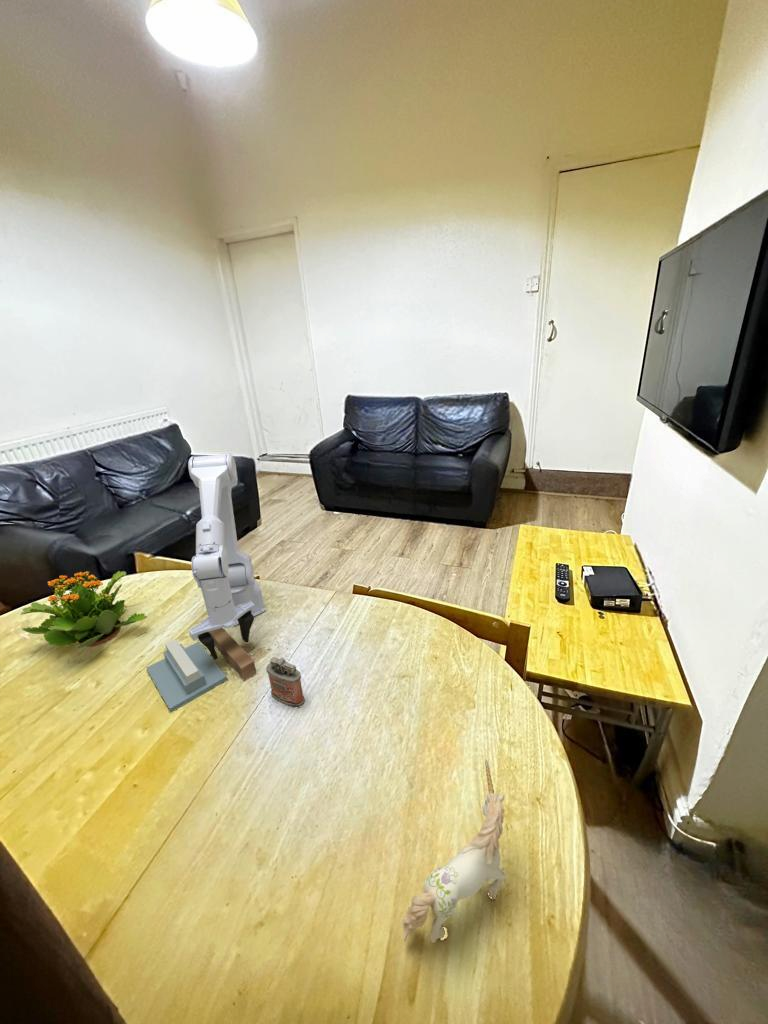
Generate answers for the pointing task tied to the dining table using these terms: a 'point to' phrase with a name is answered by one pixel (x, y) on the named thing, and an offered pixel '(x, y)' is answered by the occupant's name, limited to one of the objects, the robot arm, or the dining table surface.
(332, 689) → the dining table surface
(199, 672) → the ridge stand
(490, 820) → the unicorn figurine
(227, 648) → the walnut bar
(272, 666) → the lighter
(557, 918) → the dining table surface
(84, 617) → the potted flower
